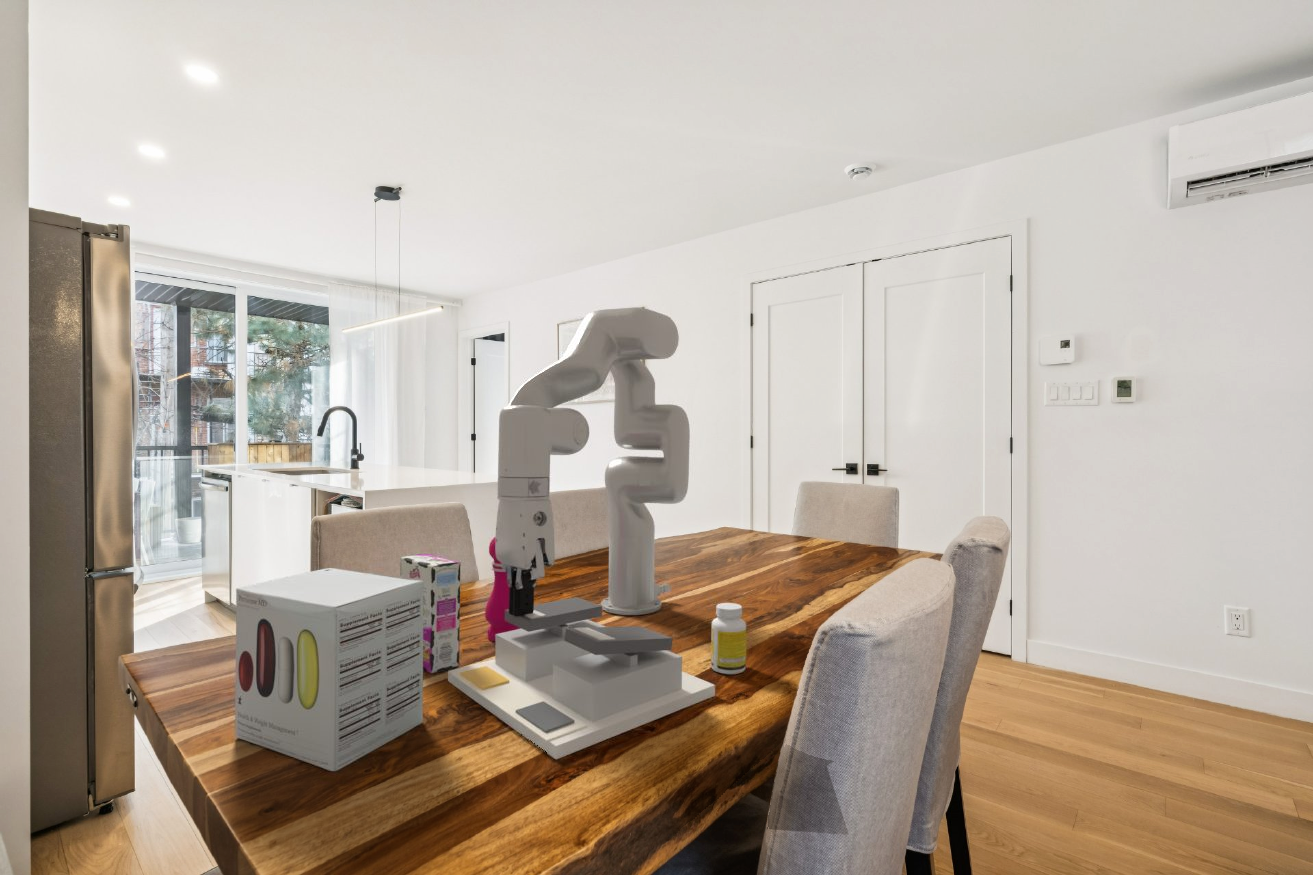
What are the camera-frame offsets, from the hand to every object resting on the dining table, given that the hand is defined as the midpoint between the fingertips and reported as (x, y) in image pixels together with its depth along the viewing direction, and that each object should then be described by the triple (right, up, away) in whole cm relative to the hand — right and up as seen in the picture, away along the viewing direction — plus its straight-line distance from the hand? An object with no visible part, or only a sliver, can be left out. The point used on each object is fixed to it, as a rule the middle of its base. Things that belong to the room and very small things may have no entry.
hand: (521, 613), depth 92 cm
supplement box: (-20, -10, -16) cm, 27 cm away
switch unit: (+9, -10, -3) cm, 13 cm away
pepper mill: (-7, -10, +20) cm, 23 cm away
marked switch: (+4, -2, +4) cm, 6 cm away
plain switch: (+15, -2, -8) cm, 17 cm away
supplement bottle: (+31, -10, +5) cm, 33 cm away
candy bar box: (-16, -10, +7) cm, 20 cm away
